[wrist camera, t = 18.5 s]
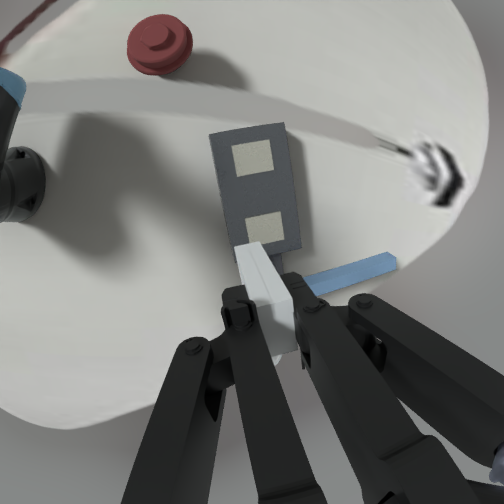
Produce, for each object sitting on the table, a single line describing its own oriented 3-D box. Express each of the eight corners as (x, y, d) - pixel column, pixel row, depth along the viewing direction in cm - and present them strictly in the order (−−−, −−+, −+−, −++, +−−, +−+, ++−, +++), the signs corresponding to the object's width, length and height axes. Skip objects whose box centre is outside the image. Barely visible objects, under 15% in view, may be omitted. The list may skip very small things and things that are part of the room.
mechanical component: (151, 31, 35) (202, 42, 38) (129, 78, 38) (181, 90, 41) (138, 2, 24) (203, 14, 27) (108, 60, 27) (174, 72, 30)
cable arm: (268, 304, 48) (272, 314, 46) (263, 283, 47) (267, 292, 44) (387, 267, 50) (395, 273, 47) (387, 246, 48) (396, 252, 46)
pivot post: (254, 285, 57) (263, 308, 49) (249, 258, 54) (258, 278, 47) (283, 278, 57) (296, 299, 49) (279, 251, 55) (292, 270, 47)
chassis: (232, 252, 53) (235, 264, 48) (208, 135, 45) (209, 134, 40) (293, 239, 55) (302, 248, 50) (276, 124, 46) (284, 122, 41)
